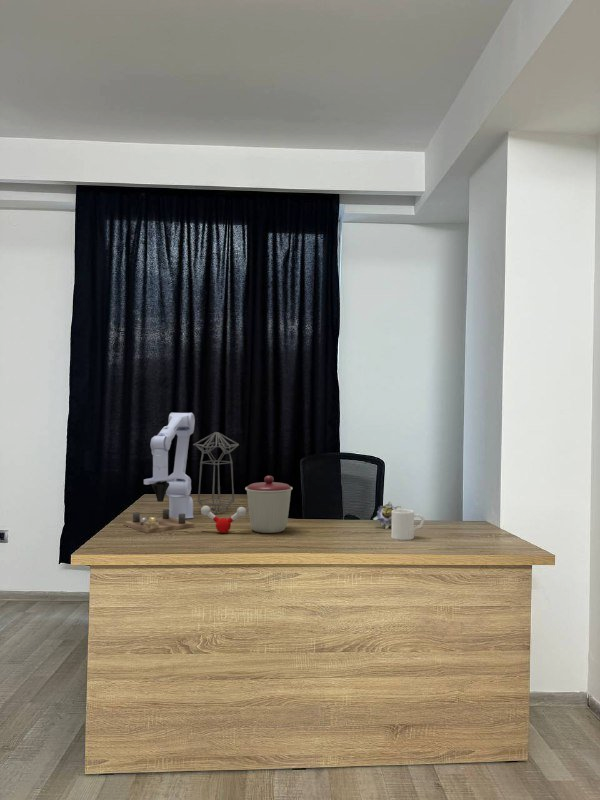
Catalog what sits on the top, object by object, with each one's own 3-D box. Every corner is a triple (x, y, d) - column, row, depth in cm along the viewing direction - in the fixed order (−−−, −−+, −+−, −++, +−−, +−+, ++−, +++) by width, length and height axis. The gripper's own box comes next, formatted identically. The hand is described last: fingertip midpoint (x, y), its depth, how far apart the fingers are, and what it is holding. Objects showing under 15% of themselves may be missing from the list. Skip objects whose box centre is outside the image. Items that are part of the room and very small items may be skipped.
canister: (302, 531, 279) (302, 475, 279) (268, 537, 266) (268, 479, 266) (268, 524, 292) (269, 471, 292) (234, 531, 279) (235, 475, 278)
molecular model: (247, 532, 276) (247, 506, 275) (243, 535, 270) (243, 508, 270) (202, 530, 279) (203, 504, 279) (198, 533, 274) (198, 506, 273)
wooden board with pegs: (169, 520, 301) (169, 507, 301) (194, 527, 285) (194, 514, 285) (124, 525, 288) (124, 512, 288) (147, 533, 273) (147, 519, 273)
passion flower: (386, 542, 285) (369, 518, 284) (388, 532, 296) (371, 508, 295) (411, 528, 282) (393, 503, 281) (411, 518, 293) (394, 493, 292)
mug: (425, 540, 263) (425, 513, 262) (391, 539, 264) (391, 512, 264) (424, 536, 271) (424, 509, 270) (391, 535, 272) (391, 508, 272)
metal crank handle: (139, 524, 283) (139, 515, 283) (145, 523, 284) (145, 514, 284) (151, 527, 276) (151, 518, 276) (157, 526, 278) (157, 517, 278)
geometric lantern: (214, 507, 333) (215, 430, 332) (241, 511, 324) (241, 432, 323) (190, 512, 320) (190, 432, 320) (217, 516, 311) (217, 433, 310)
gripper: (168, 464, 294) (168, 498, 294) (138, 467, 283) (138, 502, 283) (180, 465, 289) (179, 500, 289) (150, 468, 278) (150, 504, 278)
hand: (160, 501), depth 286 cm, fingers closed
